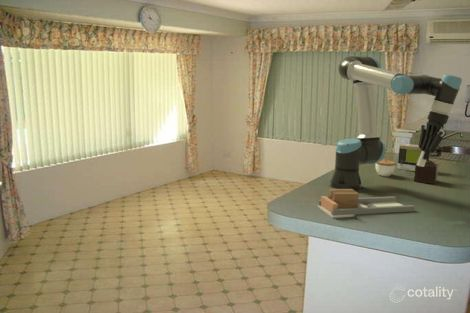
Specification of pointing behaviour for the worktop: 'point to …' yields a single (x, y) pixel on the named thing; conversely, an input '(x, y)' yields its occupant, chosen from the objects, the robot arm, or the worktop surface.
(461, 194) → the worktop surface
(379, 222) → the worktop surface
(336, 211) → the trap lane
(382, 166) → the lidded jar
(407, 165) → the tea box
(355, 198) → the walnut block
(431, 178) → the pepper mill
